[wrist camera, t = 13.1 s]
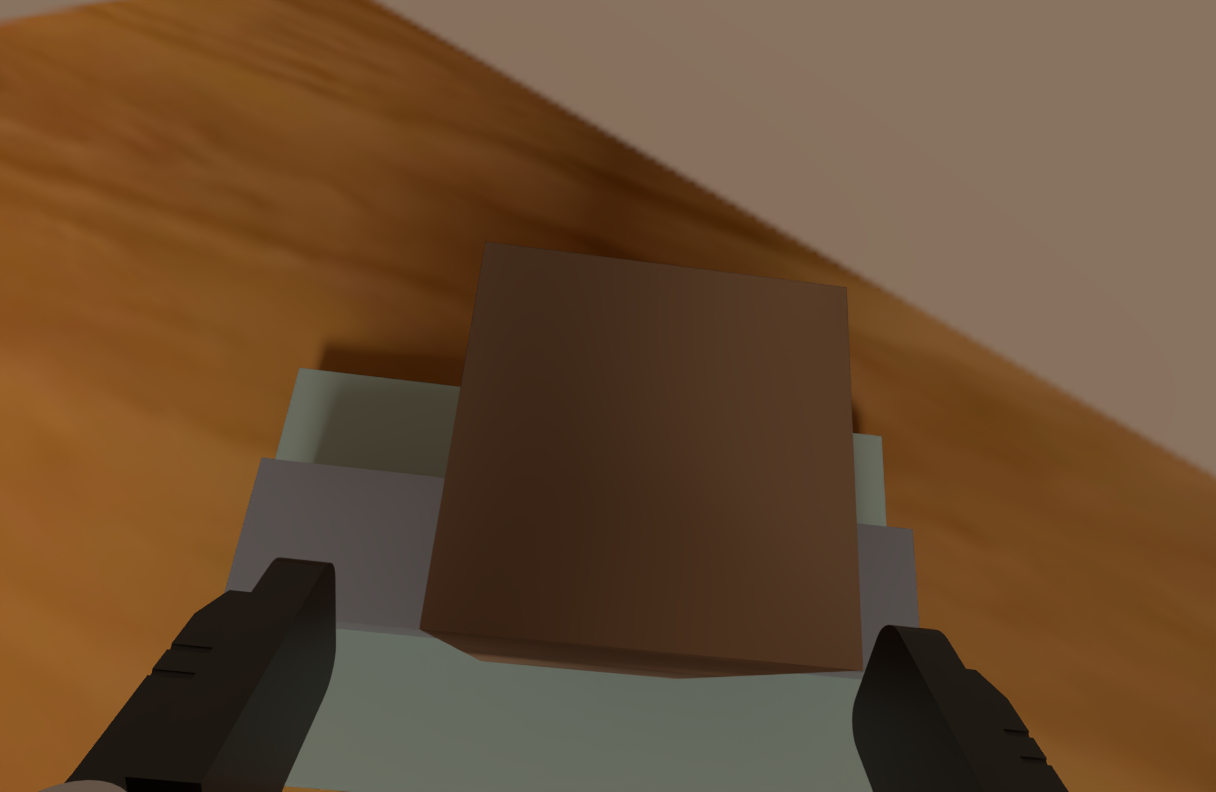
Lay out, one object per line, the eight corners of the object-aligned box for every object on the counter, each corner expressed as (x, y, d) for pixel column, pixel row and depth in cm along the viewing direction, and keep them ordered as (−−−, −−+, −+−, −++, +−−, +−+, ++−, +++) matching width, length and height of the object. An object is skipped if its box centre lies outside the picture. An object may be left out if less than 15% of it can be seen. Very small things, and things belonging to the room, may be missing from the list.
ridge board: (861, 450, 25) (938, 396, 20) (877, 827, 20) (980, 869, 16) (312, 386, 23) (260, 313, 19) (214, 771, 19) (115, 798, 15)
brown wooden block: (685, 489, 18) (846, 287, 9) (676, 679, 17) (863, 670, 7) (507, 470, 18) (485, 242, 9) (480, 661, 16) (419, 629, 7)
